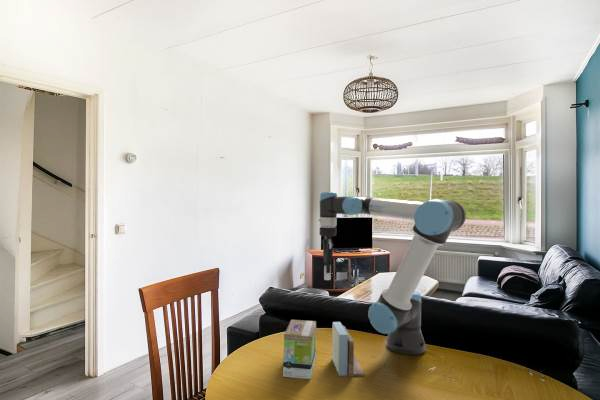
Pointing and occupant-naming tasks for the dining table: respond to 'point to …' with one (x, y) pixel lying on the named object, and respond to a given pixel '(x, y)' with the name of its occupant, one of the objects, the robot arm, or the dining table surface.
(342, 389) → the dining table surface
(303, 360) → the tea box
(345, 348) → the book
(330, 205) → the robot arm
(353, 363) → the bookend
